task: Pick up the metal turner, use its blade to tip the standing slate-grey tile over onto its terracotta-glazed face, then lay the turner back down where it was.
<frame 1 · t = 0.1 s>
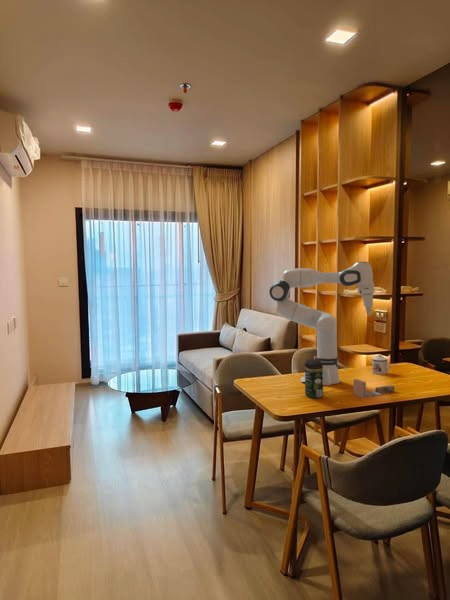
hand: (369, 314, 228), 39 cm above the table, tool pointing down, fingers open, 8 cm apart
turner: (377, 393, 209), on the table
tile: (361, 396, 205), on the table
coffee jar: (314, 396, 208), on the table
teacup with lid: (381, 373, 251), on the table
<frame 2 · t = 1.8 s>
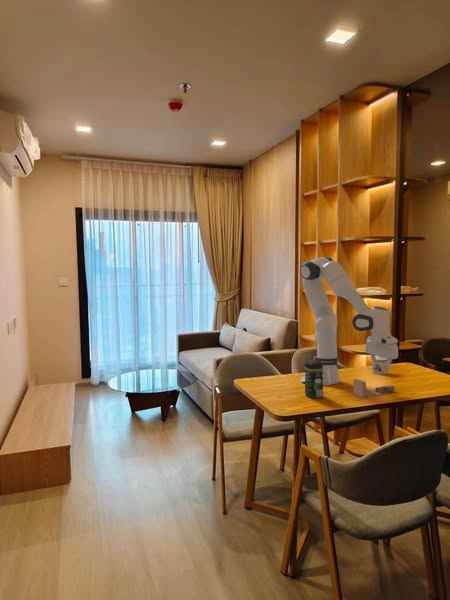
hand: (381, 364, 209), 15 cm above the table, tool pointing down, fingers open, 8 cm apart
nothing on the table moved.
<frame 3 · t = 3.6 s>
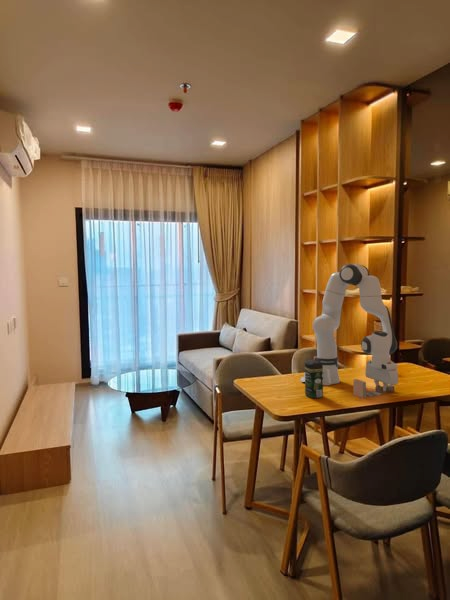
hand: (381, 389, 210), 2 cm above the table, tool pointing down, fingers closed on turner, 3 cm apart
turner: (377, 393, 209), on the table, touching gripper
everything else where it was.
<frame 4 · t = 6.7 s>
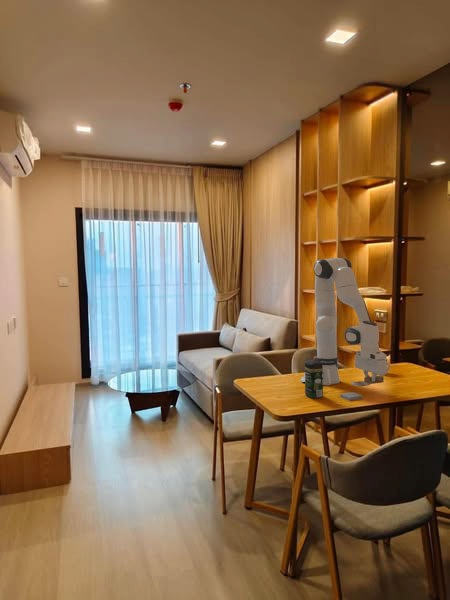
hand: (370, 380, 207), 8 cm above the table, tool pointing down, fingers closed on turner, 3 cm apart
turner: (366, 383, 206), point 6 cm above the table, touching gripper
tile: (357, 393, 205), point 1 cm above the table, tilted 90°
everything else where it was.
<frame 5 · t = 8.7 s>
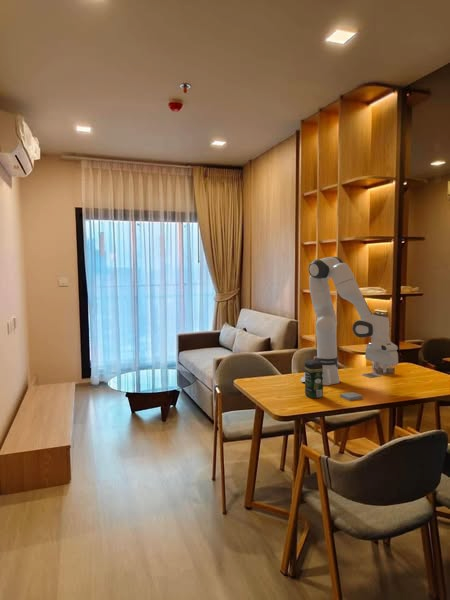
hand: (381, 371, 209), 11 cm above the table, tool pointing down, fingers closed on turner, 3 cm apart
turner: (377, 375, 208), point 10 cm above the table, touching gripper
everything else where it was.
when the fingers open (3 cm above the table, at t = 10.3 s): turner drops 1 cm, on the table.
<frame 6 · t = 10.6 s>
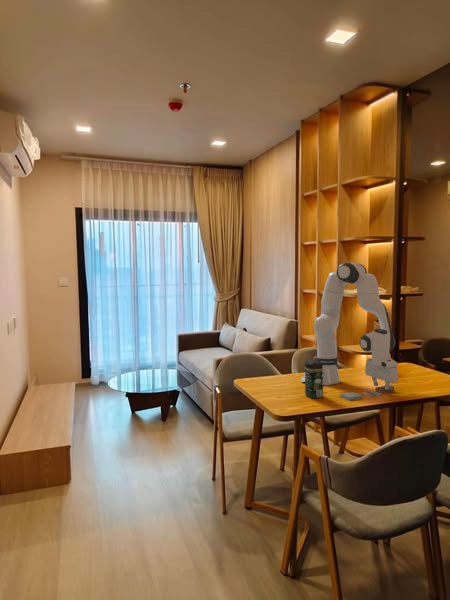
hand: (381, 387, 210), 3 cm above the table, tool pointing down, fingers open, 6 cm apart
turner: (377, 393, 209), on the table
everything else where it was.
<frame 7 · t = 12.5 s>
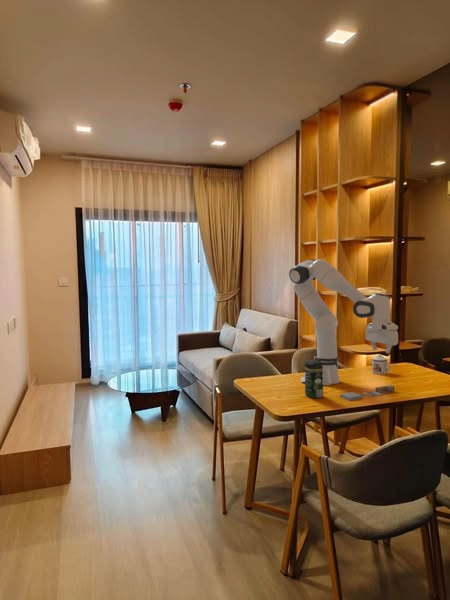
hand: (381, 351, 210), 21 cm above the table, tool pointing down, fingers open, 8 cm apart
nothing on the table moved.
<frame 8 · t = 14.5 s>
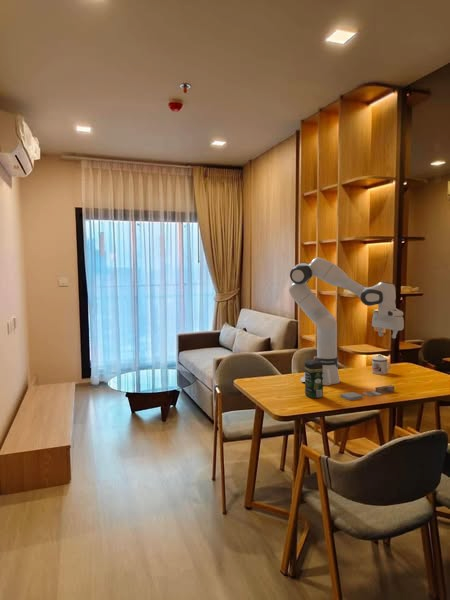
hand: (387, 337, 220), 27 cm above the table, tool pointing down, fingers open, 8 cm apart
nothing on the table moved.
at the end: tile 0.3 cm from the target spot, point 1.5 cm above the table; tile tilted 90°; turner 0.2 cm from the target spot, on the table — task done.
